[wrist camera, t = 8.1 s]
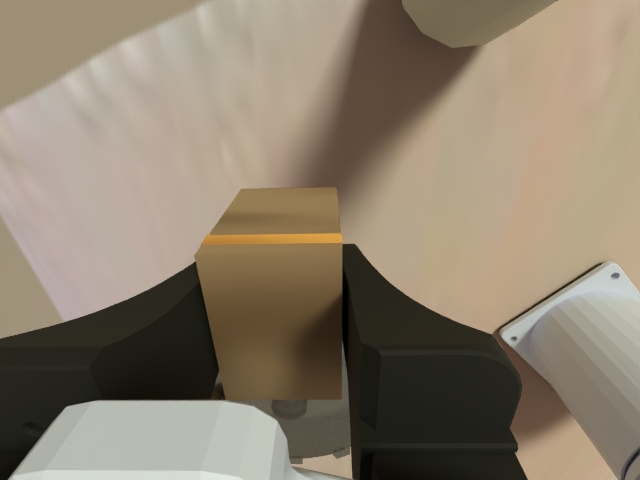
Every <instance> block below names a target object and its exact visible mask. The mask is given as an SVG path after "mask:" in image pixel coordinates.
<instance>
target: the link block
mask: <svg viewBox="0 0 640 480" xmlns="http://www.w3.org/2000/svg"><path fill="white" fill-rule="evenodd" d="M194 256H195V260H196V265H197V270H198V274H199V279H200V283H201V288H202V293H203V297H204V302H205V306H206V311H207V316H208V320H209V325H210V329H211V334H212V339H213V343H214V348H215V352H216V357H217V362H218V366H219V371H220V375H221V380H222V385H223V389H224V394H225V398H226V400H342V233H341V231H340V219H339V207H338V195H337V187H312V188H260V189H241V190H240V192H239V193H238V194H237V196H236V197H235V199H234V200H233V201H232V203H231V204H230V206H229V207H228V209H227V210H226V211H225V213H224V214H223V216H222V217H221V218H220V220H219V221H218V223H217V224H216V226H215V227H214V228H213V230H212V231H211V233H210V234H209V235H207V236H206V238H205V239H204V241H203V242H202V243H201V247H200V248H199V250H198V251H197V252H196V254H195V255H194Z"/></svg>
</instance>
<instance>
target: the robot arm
mask: <svg viewBox="0 0 640 480" xmlns="http://www.w3.org/2000/svg"><path fill="white" fill-rule="evenodd" d="M613 273H614V274H613ZM612 274H613V275H612ZM611 275H612V276H611ZM499 334H500V336H501V337H502V339H503V340H504V341H505V342H506V343H507V344H508V345H509V346H510V347H512V348H513V349H514V350H515V351H516V352H517V353H518V354H519V355H520V356H521V357H522V358H523V359H524V360H525V361H526V362H527V363H528V364H530V365H531V366H532V367H533V368H534V369H535V370H536V371H537V372H538V373H539V374H540V375H541V376H542V377H543V378H544V379H545V380H547V381H548V382H549V383H550V384H551V385H552V387H553V388H554V390H555V391H556V392H557V394H558V395H559V397H560V398H561V400H562V401H563V402H564V404H565V405H566V407H567V408H568V409H569V411H570V412H571V414H572V415H573V416H574V418H575V419H576V421H577V422H578V423H579V425H580V426H581V428H582V429H583V431H584V432H585V433H586V435H587V436H588V438H589V439H590V440H591V442H592V443H593V445H594V446H595V447H596V449H597V450H598V452H599V453H600V455H601V456H602V457H603V459H604V460H605V462H606V463H607V464H608V466H609V467H610V469H611V470H612V471H613V473H614V474H615V476H616V477H617V479H618V480H640V293H639V291H638V290H637V289H636V287H635V286H634V285H633V284H632V282H631V281H630V280H629V278H628V277H627V276H626V274H625V273H624V272H623V271H622V269H621V268H620V267H619V266H618V265H617V264H616V263H614V262H611V261H608V262H605V263H603V264H601V265H600V266H598V267H597V268H595V269H593V270H592V271H590V272H589V273H587V274H586V275H584V276H583V277H581V278H579V279H578V280H576V281H575V282H573V283H572V284H570V285H569V286H567V287H565V288H564V289H562V290H561V291H559V292H558V293H556V294H555V295H553V296H551V297H550V298H548V299H547V300H545V301H544V302H542V303H540V304H539V305H537V306H536V307H534V308H533V309H531V310H530V311H528V312H526V313H525V314H523V315H522V316H520V317H519V318H517V319H516V320H514V321H512V322H511V323H509V324H508V325H506V326H505V327H503V328H502V329H501V330H500V332H499ZM513 336H514V337H513ZM511 337H512V338H511ZM342 343H343V349H344V356H345V362H346V369H347V378H348V395H349V415H350V435H351V456H352V477H353V479H349V478H345V477H340V476H336V475H331V474H326V473H322V472H317V471H313V470H308V469H304V468H299V467H294V466H291V463H290V460H289V453H288V443H287V438H286V436H285V434H284V433H283V431H282V429H281V427H280V425H279V423H278V421H277V420H276V419H275V418H273V417H272V416H270V415H268V414H267V413H265V412H264V411H262V410H260V409H259V408H257V407H255V406H254V405H251V404H246V403H240V402H234V401H229V400H211V398H212V394H213V390H214V386H215V383H216V379H217V376H218V373H219V366H218V362H217V357H216V352H215V348H214V343H213V339H212V334H211V329H210V325H209V320H208V316H207V311H206V306H205V302H204V297H203V293H202V288H201V283H200V279H199V274H198V270H197V265H196V262H194V263H193V264H191V265H190V266H188V267H187V268H185V269H184V270H182V271H180V272H179V273H177V274H175V275H174V276H172V277H170V278H169V279H167V280H165V281H164V282H162V283H160V284H158V285H156V286H155V287H153V288H151V289H149V290H147V291H145V292H143V293H140V294H138V295H136V296H134V297H132V298H130V299H128V300H125V301H123V302H120V303H118V304H115V305H113V306H110V307H108V308H105V309H103V310H100V311H97V312H95V313H92V314H89V315H86V316H83V317H80V318H77V319H73V320H70V321H67V322H64V323H60V324H57V325H54V326H50V327H46V328H42V329H38V330H34V331H30V332H26V333H22V334H18V335H14V336H10V337H5V338H1V339H0V480H528V479H527V477H526V475H525V473H524V471H523V469H522V467H521V465H520V463H519V461H518V459H517V457H516V455H515V453H514V452H517V450H518V445H517V442H516V440H515V438H514V436H513V434H512V432H511V430H510V426H511V423H512V420H513V417H514V415H515V412H516V409H517V406H518V403H519V400H520V396H521V390H522V384H521V380H520V376H519V374H518V372H517V371H516V369H515V367H514V366H513V364H512V362H511V361H510V359H509V358H508V356H507V355H506V353H505V351H504V350H503V349H502V347H501V346H500V345H499V343H498V342H497V341H496V340H495V338H494V337H493V335H491V334H489V333H486V332H483V331H480V330H477V329H474V328H472V327H469V326H466V325H463V324H460V323H458V322H456V321H453V320H451V319H449V318H447V317H444V316H442V315H440V314H438V313H436V312H434V311H432V310H430V309H428V308H426V307H425V306H423V305H421V304H419V303H418V302H416V301H414V300H413V299H411V298H410V297H408V296H407V295H405V294H404V293H403V292H401V291H400V290H398V289H397V288H396V287H394V286H393V285H392V284H391V283H390V282H388V281H387V280H386V279H385V278H384V277H383V276H382V275H381V274H380V273H379V272H378V271H377V270H376V269H375V268H374V267H373V266H372V265H371V263H370V262H369V261H368V260H367V259H366V257H365V256H364V255H363V254H362V252H361V251H360V250H359V248H358V247H357V246H356V245H355V244H342Z"/></svg>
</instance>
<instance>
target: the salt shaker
mask: <svg viewBox="0 0 640 480" xmlns="http://www.w3.org/2000/svg"><path fill="white" fill-rule="evenodd" d="M556 1H557V0H402V6H403V8H404V9H405V10H406V12H407V13H408V15H409V16H410V17H411V19H412V20H413V21H414V23H415V24H416V25H417V27H418V28H419V30H420V31H421V32H422V33H423V34H425V35H427V36H429V37H431V38H433V39H435V40H437V41H439V42H441V43H443V44H445V45H447V46H449V47H451V48H457V47H466V46H475V45H483V44H487V43H488V42H490V41H492V40H494V39H495V38H497V37H499V36H501V35H502V34H504V33H506V32H508V31H509V30H511V29H513V28H515V27H516V26H518V25H520V24H521V23H523V22H524V21H526V20H527V19H529V18H531V17H532V16H534V15H535V14H537V13H538V12H540V11H542V10H543V9H545V8H546V7H548V6H550V5H551V4H553V3H554V2H556Z"/></svg>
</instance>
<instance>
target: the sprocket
mask: <svg viewBox="0 0 640 480" xmlns="http://www.w3.org/2000/svg"><path fill="white" fill-rule="evenodd" d="M211 400H226V398H225V394H224V389H223V385H222V380H221V375H220V371H219V373H218V376H217V379H216V383H215V386H214V390H213V394H212V398H211ZM229 401H234V402H240V403H246V404H251V405H254V406H255V407H257V408H259V409H260V410H262V411H264V412H265V413H267V414H268V415H270V416H272V417H273V418H275V419H276V420H277V421H278V423H279V425H280V427H281V429H282V431H283V433H284V434H285V436H286V438H287V443H288V453H289V460H290V463H291V464H302V462H303V458H312V457H319V456H324V455H329V454H333V455H334V456H335V457H336V458H340V457H343V456H346V455H349V454H350V447H351V435H350V415H349V395H348V378H347V369H346V362H345V356H344V349H343V343H342V400H229Z"/></svg>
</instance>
